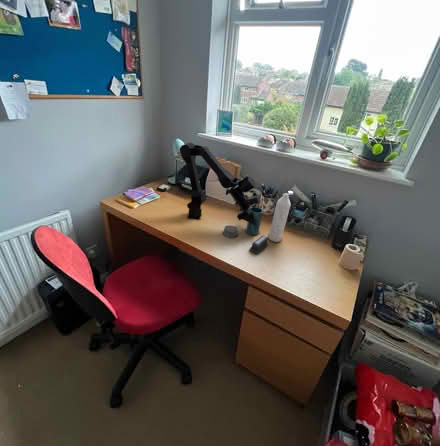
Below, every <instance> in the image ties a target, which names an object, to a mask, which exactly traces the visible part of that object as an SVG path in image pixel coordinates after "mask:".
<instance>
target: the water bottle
mask: <svg viewBox="0 0 440 446" xmlns="http://www.w3.org/2000/svg"><path fill="white" fill-rule="evenodd" d="M293 195H294V191H292V190H288V191H287V192H284V193H283V194H282V196H281V197H280V198H279V199H278V200H277V201H276V203H275V209H274V213H273V217H272V219H271V220H272V221H271V225H270V228H269V233H268V237H267V238H268V240H269V241H270V242H273V243H279V242H281V241H282V238H283V234H284V231H285V227H286V223H287V220H288V216H289V213H290V209H291V205H292V204H291V203H292V202H291V200H290V198H289V197H290V196H293Z"/></svg>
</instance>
